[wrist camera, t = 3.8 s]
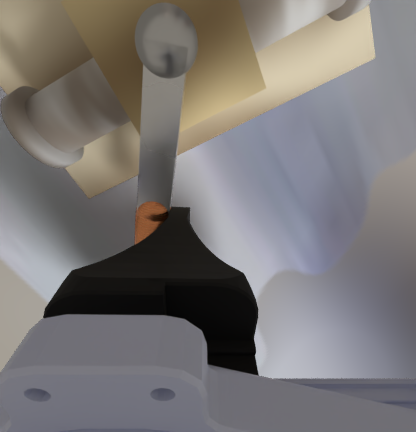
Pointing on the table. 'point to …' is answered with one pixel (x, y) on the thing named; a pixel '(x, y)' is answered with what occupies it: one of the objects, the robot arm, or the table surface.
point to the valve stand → (133, 72)
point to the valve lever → (161, 107)
